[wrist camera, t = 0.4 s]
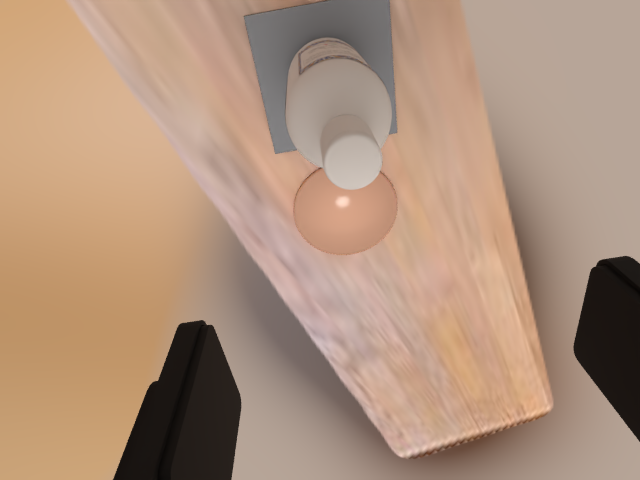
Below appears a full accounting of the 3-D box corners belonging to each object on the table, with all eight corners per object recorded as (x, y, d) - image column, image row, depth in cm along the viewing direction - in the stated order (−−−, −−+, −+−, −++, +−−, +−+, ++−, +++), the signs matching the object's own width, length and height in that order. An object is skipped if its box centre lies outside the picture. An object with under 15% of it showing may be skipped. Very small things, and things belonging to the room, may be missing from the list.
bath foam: (340, 131, 39) (375, 244, 22) (274, 96, 37) (258, 192, 20) (380, 62, 36) (454, 134, 19) (310, 20, 34) (325, 59, 17)
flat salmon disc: (284, 170, 41) (284, 173, 41) (392, 152, 41) (394, 154, 40) (304, 258, 47) (304, 261, 47) (398, 243, 47) (400, 246, 46)
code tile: (244, 16, 34) (243, 16, 34) (388, -11, 33) (388, -11, 33) (275, 153, 40) (275, 153, 40) (396, 132, 40) (397, 132, 40)
